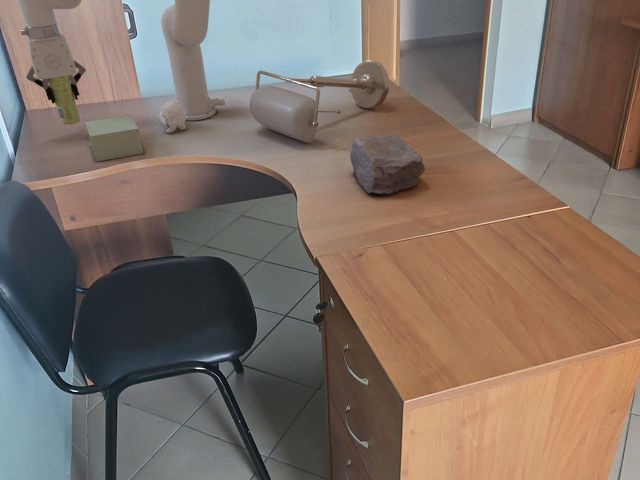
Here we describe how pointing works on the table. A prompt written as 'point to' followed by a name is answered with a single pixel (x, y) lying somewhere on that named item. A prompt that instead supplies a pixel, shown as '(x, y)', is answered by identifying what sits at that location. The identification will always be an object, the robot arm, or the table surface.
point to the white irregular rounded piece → (173, 116)
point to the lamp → (301, 111)
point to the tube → (64, 99)
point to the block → (114, 137)
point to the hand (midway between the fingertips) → (64, 99)
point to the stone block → (385, 164)
